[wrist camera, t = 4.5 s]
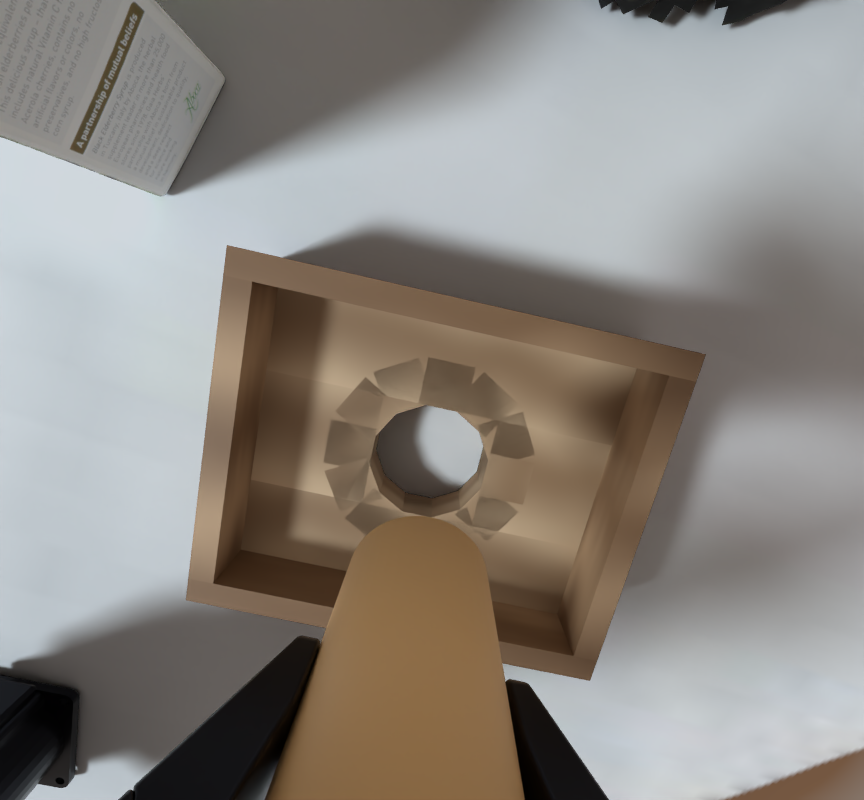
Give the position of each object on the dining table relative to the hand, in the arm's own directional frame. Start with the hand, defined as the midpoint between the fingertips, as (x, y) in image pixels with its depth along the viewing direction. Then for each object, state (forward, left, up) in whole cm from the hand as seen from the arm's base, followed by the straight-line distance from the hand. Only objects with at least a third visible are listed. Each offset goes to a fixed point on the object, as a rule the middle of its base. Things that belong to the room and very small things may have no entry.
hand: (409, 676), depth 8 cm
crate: (0, 0, -13) cm, 13 cm away
